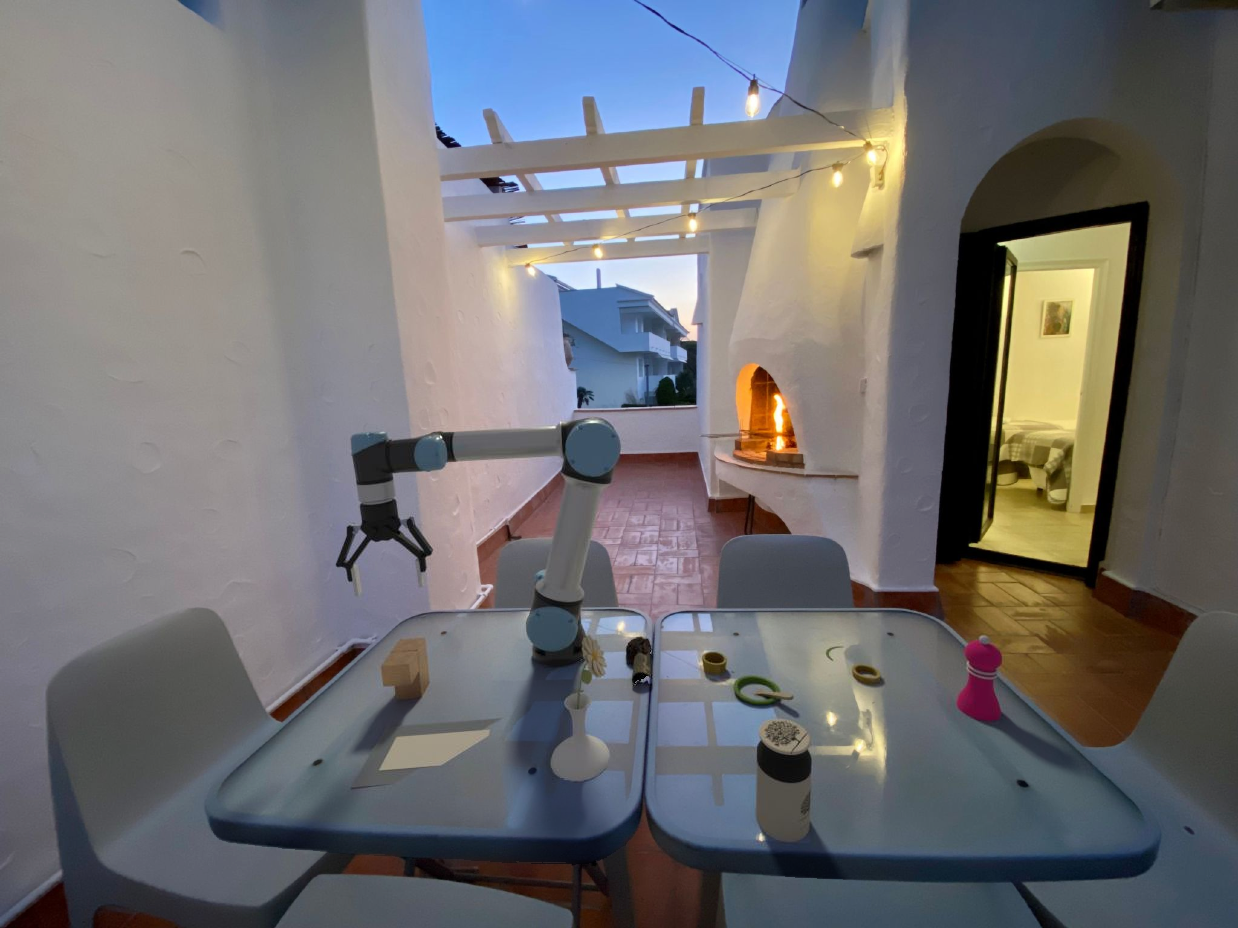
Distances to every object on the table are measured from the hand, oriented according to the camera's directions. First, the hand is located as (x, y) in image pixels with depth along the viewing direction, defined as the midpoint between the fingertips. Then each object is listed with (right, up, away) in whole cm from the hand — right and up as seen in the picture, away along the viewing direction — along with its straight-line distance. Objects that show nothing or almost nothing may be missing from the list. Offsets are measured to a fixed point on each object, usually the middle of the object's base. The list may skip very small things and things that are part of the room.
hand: (390, 589), depth 114 cm
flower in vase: (+46, -28, -20) cm, 58 cm away
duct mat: (+17, -29, -16) cm, 37 cm away
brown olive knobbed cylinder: (+59, -27, +5) cm, 64 cm away
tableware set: (+94, -24, +3) cm, 97 cm away
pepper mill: (+126, -25, -14) cm, 129 cm away
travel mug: (+79, -30, -36) cm, 92 cm away
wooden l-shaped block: (+4, -26, +2) cm, 26 cm away
